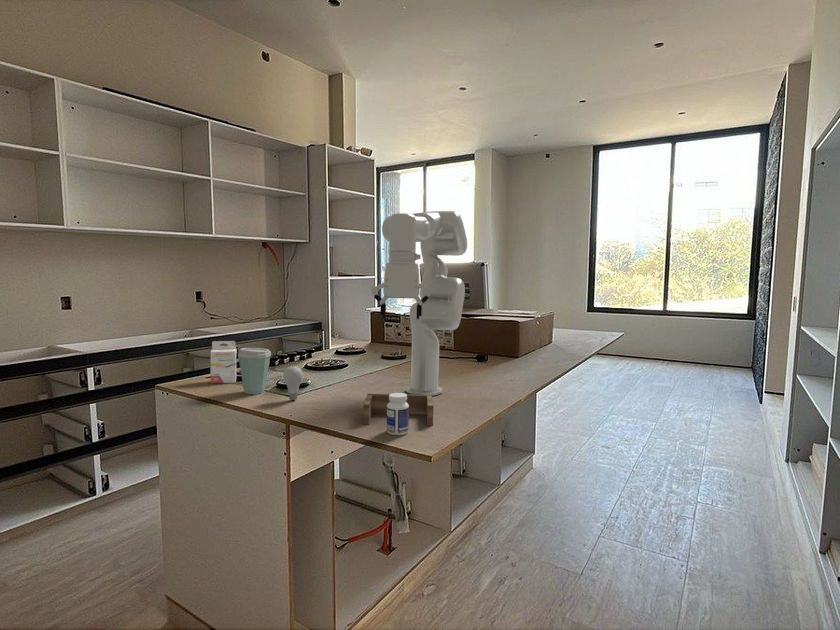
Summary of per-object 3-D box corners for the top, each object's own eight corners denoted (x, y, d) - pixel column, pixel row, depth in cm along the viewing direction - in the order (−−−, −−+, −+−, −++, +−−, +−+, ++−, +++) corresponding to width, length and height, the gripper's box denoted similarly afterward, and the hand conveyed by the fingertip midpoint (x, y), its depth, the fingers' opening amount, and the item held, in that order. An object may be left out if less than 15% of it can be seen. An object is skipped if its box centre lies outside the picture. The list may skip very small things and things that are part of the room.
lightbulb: (295, 404, 147) (295, 369, 146) (279, 401, 150) (279, 367, 148) (307, 399, 153) (307, 365, 152) (290, 397, 155) (290, 363, 154)
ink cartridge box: (210, 384, 170) (209, 343, 169) (211, 380, 175) (210, 341, 173) (236, 382, 173) (235, 342, 171) (236, 379, 177) (236, 340, 176)
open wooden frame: (367, 411, 141) (367, 393, 141) (431, 412, 142) (431, 394, 141) (363, 424, 130) (363, 404, 129) (432, 425, 130) (433, 405, 130)
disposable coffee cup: (256, 386, 167) (256, 344, 166) (278, 391, 162) (278, 347, 161) (231, 393, 158) (230, 348, 157) (253, 398, 153) (253, 352, 151)
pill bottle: (408, 428, 127) (409, 392, 126) (408, 436, 121) (409, 397, 121) (386, 428, 127) (387, 391, 126) (386, 435, 121) (386, 397, 120)
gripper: (432, 259, 139) (430, 317, 140) (372, 257, 138) (371, 316, 140) (433, 258, 131) (431, 320, 133) (370, 257, 131) (369, 319, 132)
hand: (401, 318), depth 136 cm, fingers open, 9 cm apart
